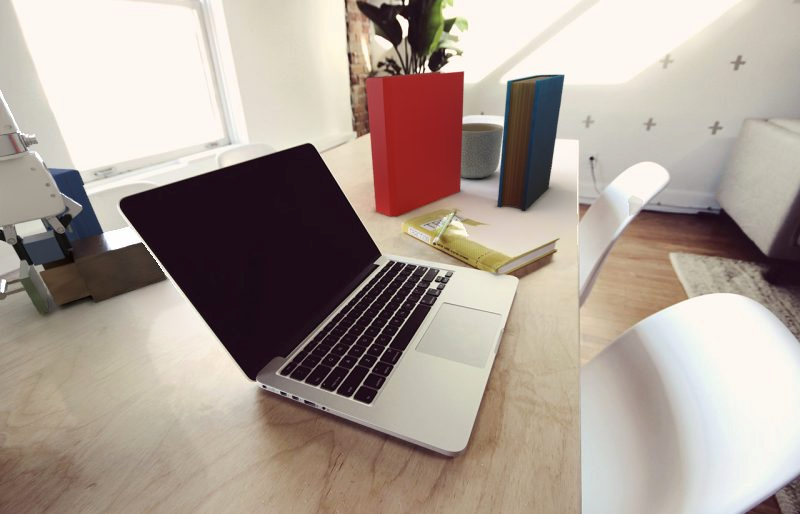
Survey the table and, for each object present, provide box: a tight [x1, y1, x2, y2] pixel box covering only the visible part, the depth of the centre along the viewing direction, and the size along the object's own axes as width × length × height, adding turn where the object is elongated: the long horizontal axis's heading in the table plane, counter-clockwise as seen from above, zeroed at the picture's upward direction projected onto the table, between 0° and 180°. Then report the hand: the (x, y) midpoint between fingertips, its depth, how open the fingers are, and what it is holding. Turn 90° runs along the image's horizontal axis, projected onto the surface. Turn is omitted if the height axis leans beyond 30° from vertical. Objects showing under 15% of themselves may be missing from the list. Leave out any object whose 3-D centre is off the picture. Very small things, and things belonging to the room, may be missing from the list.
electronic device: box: [40, 167, 105, 250], centre depth 75 cm, size 10×5×20 cm, turn 73°
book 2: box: [497, 74, 566, 212], centre depth 101 cm, size 24×9×30 cm, turn 146°
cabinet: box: [70, 226, 167, 303], centre depth 72 cm, size 11×10×8 cm
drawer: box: [0, 249, 92, 315], centre depth 66 cm, size 14×9×7 cm, turn 131°
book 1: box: [365, 70, 465, 217], centre depth 100 cm, size 27×8×32 cm, turn 135°
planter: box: [461, 122, 504, 180], centre depth 124 cm, size 17×17×15 cm
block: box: [22, 230, 65, 267], centre depth 64 cm, size 4×4×4 cm
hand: (49, 256), depth 65 cm, fingers closed on block, 4 cm apart
